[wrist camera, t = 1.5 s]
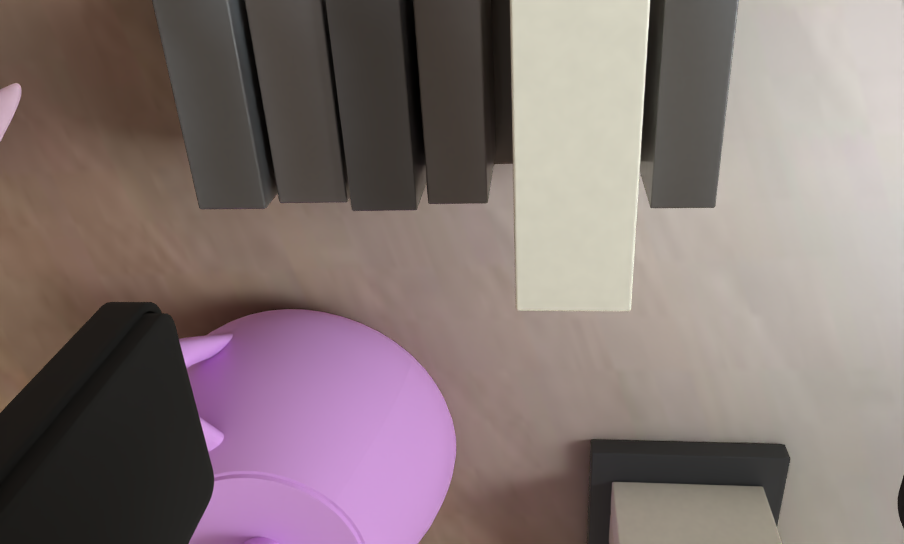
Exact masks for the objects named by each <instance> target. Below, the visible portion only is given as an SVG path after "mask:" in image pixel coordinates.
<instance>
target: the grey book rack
mask: <svg viewBox="0 0 904 544" xmlns="http://www.w3.org/2000/svg"><path fill="white" fill-rule="evenodd" d="M152 2H153V6H154V11H155V15H156V20H157V24H158V28H159V33H160V37H161V42H162V46H163V50H164V55H165V59H166V64H167V68H168V72H169V77H170V81H171V86H172V90H173V94H174V99H175V103H176V108H177V112H178V116H179V121H180V125H181V130H182V134H183V138H184V143H185V147H186V152H187V156H188V160H189V165H190V169H191V174H192V178H193V182H194V187H195V191H196V195H197V200H198V204H199V208H200V209H265V208H266V207H267V206H268V205H269V204H270V202H271V201H272V200H273V198H274V197H275V196H276V194H277V193H278V195H279V201H280V203H320V202H347V201H348V199H349V198H350V199H351V207H352V210H353V211H378V210H417V208H418V205H419V202H420V199H421V196H422V193H423V191H424V188H425V185H426V182H427V193H428V203H429V204H462V203H487V202H488V198H489V191H490V185H491V179H492V172H493V166H494V164H513V140H512V88H511V36H510V0H152ZM738 2H739V0H650V12H649V28H648V44H647V60H646V76H645V92H644V108H643V124H642V140H641V156H640V173H641V177H642V180H643V184H644V187H645V190H646V194H647V197H648V201H649V204H650V207H651V208H714V207H715V204H716V195H717V186H718V177H719V169H720V160H721V151H722V142H723V134H724V125H725V116H726V107H727V99H728V90H729V81H730V72H731V64H732V55H733V46H734V37H735V29H736V20H737V11H738Z"/></svg>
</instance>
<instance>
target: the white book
mask: <svg viewBox="0 0 904 544" xmlns="http://www.w3.org/2000/svg"><path fill="white" fill-rule="evenodd" d="M649 12H650V0H510V36H511V88H512V140H513V192H514V244H515V297H516V310H518V311H630V310H631V300H632V284H633V268H634V252H635V236H636V220H637V204H638V188H639V172H640V156H641V140H642V124H643V108H644V92H645V76H646V60H647V44H648V28H649Z"/></svg>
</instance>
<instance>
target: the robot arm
mask: <svg viewBox="0 0 904 544" xmlns="http://www.w3.org/2000/svg"><path fill="white" fill-rule="evenodd" d="M213 488H214V472H213V468H212V464H211V460H210V456H209V452H208V449H207V445H206V441H205V437H204V433H203V429H202V426H201V422H200V418H199V414H198V410H197V406H196V403H195V399H194V395H193V391H192V387H191V384H190V380H189V376H188V372H187V368H186V364H185V361H184V357H183V353H182V349H181V345H180V341H179V338H178V334H177V330H176V326H175V323H174V321H173V319H172V317H171V316H170V315H168V314H162V313H161V310H160V309H159V307H158V306H157V305H156V304H154V303H152V302H109V303H106V304H104V305H103V306H102V307H101V308H100V309H99V310H98V311H97V312H96V313H95V314H94V315H93V316H92V317H91V318H90V319H89V320H88V321H87V322H86V323H85V324H84V325H83V326H82V328H81V329H80V330H79V331H78V332H77V333H76V334H75V335H74V336H73V337H72V338H71V339H70V340H69V341H68V342H67V343H66V344H65V345H64V346H63V348H62V349H61V350H60V351H59V352H58V353H57V354H56V355H55V356H54V357H53V358H52V359H51V360H50V361H49V362H48V363H47V364H46V365H45V366H44V367H43V369H42V370H41V371H40V372H39V373H38V374H37V375H36V376H35V377H34V378H33V379H32V380H31V381H30V382H29V383H28V384H27V385H26V386H25V387H24V389H23V390H22V391H21V392H20V393H19V394H18V395H17V396H16V397H15V398H14V399H13V400H12V401H11V402H10V403H9V404H8V405H7V406H6V407H5V409H4V410H3V411H2V412H1V413H0V544H189V542H190V540H191V538H192V536H193V534H194V532H195V530H196V528H197V526H198V524H199V522H200V520H201V518H202V516H203V514H204V512H205V510H206V508H207V506H208V504H209V502H210V499H211V497H212V493H213ZM898 512H899V517H900V521H901V523H902V526H903V528H904V476H903V480H902V483H901V486H900V490H899V494H898Z"/></svg>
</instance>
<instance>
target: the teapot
mask: <svg viewBox="0 0 904 544" xmlns="http://www.w3.org/2000/svg"><path fill="white" fill-rule="evenodd" d="M179 341H180V345H181V349H182V353H183V357H184V361H185V364H186V368H187V372H188V376H189V380H190V384H191V387H192V391H193V395H194V399H195V403H196V406H197V410H198V414H199V418H200V422H201V426H202V429H203V433H204V437H205V441H206V445H207V449H208V452H209V456H210V460H211V464H212V468H213V472H214V488H213V493H212V497H211V499H210V502H209V504H208V506H207V508H206V510H205V512H204V514H203V516H202V518H201V520H200V522H199V524H198V526H197V528H196V530H195V532H194V534H193V536H192V538H191V540H190V542H189V544H418V543H419V541H420V540H421V539H422V537H423V536H424V535H425V533H426V532H427V531H428V529H429V528H430V526H431V524H432V523H433V521H434V519H435V517H436V515H437V513H438V511H439V509H440V507H441V505H442V503H443V501H444V499H445V496H446V494H447V491H448V488H449V485H450V482H451V479H452V475H453V470H454V465H455V457H456V435H455V430H454V425H453V420H452V418H451V415H450V412H449V410H448V407H447V405H446V402H445V399H444V397H443V396H442V394H441V392H440V390H439V389H438V387H437V385H436V383H435V382H434V381H433V379H432V378H431V377H430V375H429V374H428V373H427V371H426V370H425V369H424V367H423V366H422V365H421V364H420V363H419V362H418V361H417V360H416V359H415V358H414V357H413V356H412V355H411V354H410V353H408V352H407V351H406V350H405V349H403V348H402V347H401V346H400V345H398V344H397V343H396V342H394V341H393V340H391V339H390V338H388V337H386V336H385V335H383V334H382V333H380V332H378V331H376V330H374V329H372V328H370V327H368V326H366V325H364V324H362V323H359V322H356V321H354V320H351V319H348V318H345V317H342V316H338V315H334V314H330V313H326V312H320V311H312V310H304V309H282V310H271V311H264V312H260V313H255V314H251V315H247V316H245V317H242V318H239V319H236V320H234V321H231V322H229V323H227V324H225V325H223V326H221V327H219V328H218V329H216V330H214V331H212V332H210V333H209V334H207V335H205V336H195V337H187V338H181V339H179Z"/></svg>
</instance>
